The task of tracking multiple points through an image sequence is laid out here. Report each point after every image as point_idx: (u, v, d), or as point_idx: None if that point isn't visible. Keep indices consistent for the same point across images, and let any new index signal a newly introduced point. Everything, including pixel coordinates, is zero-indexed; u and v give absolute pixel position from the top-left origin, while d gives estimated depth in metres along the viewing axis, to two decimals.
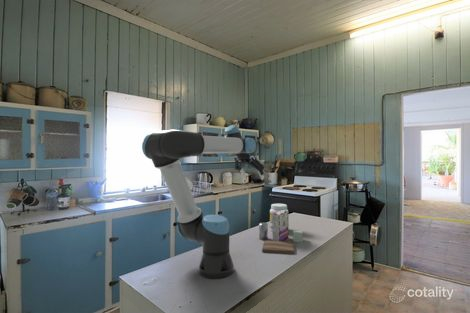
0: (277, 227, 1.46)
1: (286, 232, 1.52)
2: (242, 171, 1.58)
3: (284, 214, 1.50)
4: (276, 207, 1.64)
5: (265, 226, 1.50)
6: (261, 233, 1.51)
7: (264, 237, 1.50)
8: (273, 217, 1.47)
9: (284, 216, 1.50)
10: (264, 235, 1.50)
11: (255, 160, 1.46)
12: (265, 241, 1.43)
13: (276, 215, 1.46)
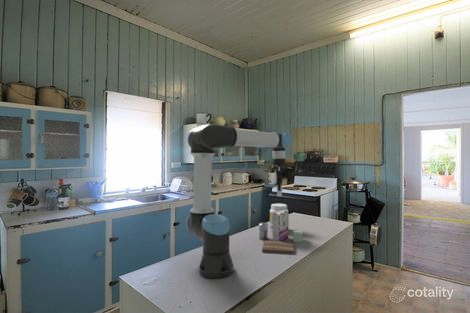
0: (277, 227, 1.46)
1: (286, 232, 1.52)
2: None
3: (284, 214, 1.50)
4: (276, 207, 1.64)
5: (265, 226, 1.50)
6: (261, 233, 1.51)
7: (264, 237, 1.50)
8: (273, 217, 1.47)
9: (284, 216, 1.50)
10: (264, 235, 1.50)
11: (278, 171, 1.43)
12: (265, 241, 1.43)
13: (276, 215, 1.46)
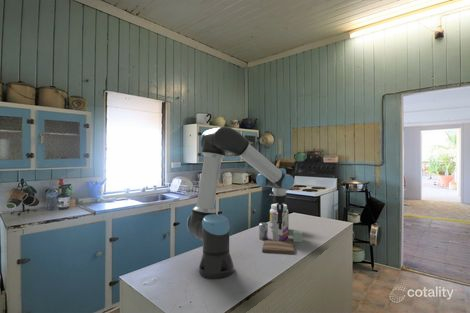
0: (277, 227, 1.46)
1: (286, 232, 1.52)
2: None
3: (284, 214, 1.50)
4: (276, 207, 1.64)
5: (265, 226, 1.50)
6: (261, 233, 1.51)
7: (264, 237, 1.50)
8: (273, 217, 1.47)
9: (284, 216, 1.50)
10: (264, 235, 1.50)
11: (279, 210, 1.44)
12: (265, 241, 1.43)
13: (276, 215, 1.46)
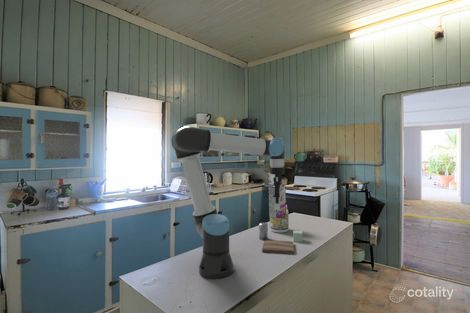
0: None
1: (284, 209, 1.39)
2: None
3: (282, 188, 1.37)
4: None
5: (265, 226, 1.50)
6: (261, 233, 1.51)
7: (264, 237, 1.50)
8: (269, 191, 1.34)
9: (282, 190, 1.37)
10: (264, 235, 1.50)
11: (276, 182, 1.30)
12: (265, 241, 1.43)
13: (273, 188, 1.32)
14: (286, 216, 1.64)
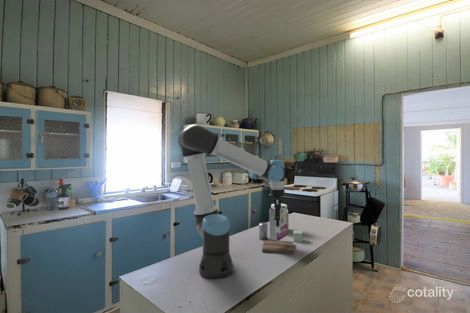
0: (274, 224, 1.32)
1: (285, 230, 1.39)
2: None
3: (282, 210, 1.36)
4: None
5: (265, 226, 1.50)
6: (261, 233, 1.51)
7: (264, 237, 1.50)
8: (270, 213, 1.34)
9: (282, 212, 1.36)
10: (264, 235, 1.50)
11: (277, 205, 1.30)
12: (265, 241, 1.43)
13: (274, 210, 1.32)
14: (286, 216, 1.64)
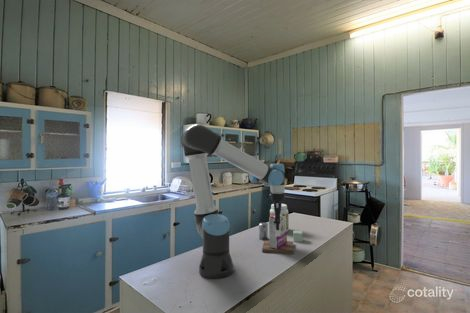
0: (274, 232, 1.32)
1: (285, 238, 1.38)
2: None
3: (282, 218, 1.36)
4: None
5: (265, 226, 1.50)
6: (261, 233, 1.51)
7: (264, 237, 1.50)
8: (270, 221, 1.33)
9: (282, 220, 1.36)
10: (264, 235, 1.50)
11: (277, 209, 1.30)
12: (265, 241, 1.43)
13: (274, 218, 1.32)
14: (286, 216, 1.64)
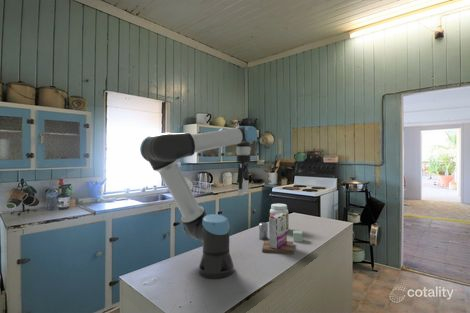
0: (274, 232, 1.32)
1: (285, 238, 1.38)
2: (245, 183, 1.46)
3: (282, 218, 1.36)
4: (276, 207, 1.64)
5: (265, 226, 1.50)
6: (261, 233, 1.51)
7: (264, 237, 1.50)
8: (270, 221, 1.33)
9: (282, 220, 1.36)
10: (264, 235, 1.50)
11: (240, 168, 1.33)
12: (265, 241, 1.43)
13: (273, 218, 1.32)
14: (286, 216, 1.64)
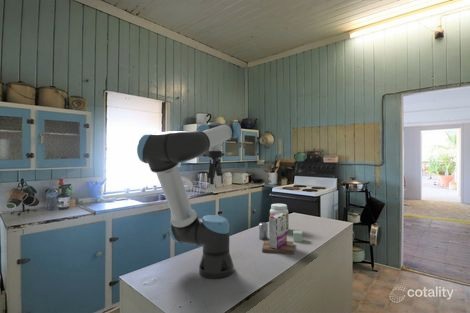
0: (274, 232, 1.32)
1: (285, 238, 1.38)
2: (218, 178, 1.49)
3: (282, 218, 1.36)
4: (276, 207, 1.64)
5: (265, 226, 1.50)
6: (261, 233, 1.51)
7: (264, 237, 1.50)
8: (270, 221, 1.33)
9: (282, 220, 1.36)
10: (264, 235, 1.50)
11: (211, 164, 1.35)
12: (265, 241, 1.43)
13: (273, 218, 1.32)
14: (286, 216, 1.64)
